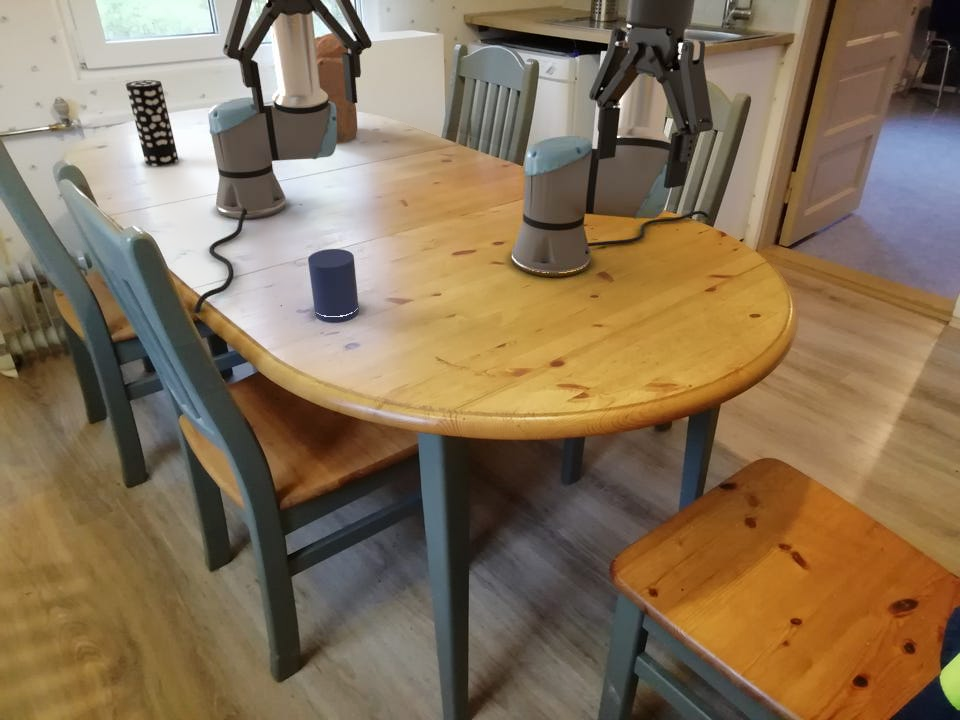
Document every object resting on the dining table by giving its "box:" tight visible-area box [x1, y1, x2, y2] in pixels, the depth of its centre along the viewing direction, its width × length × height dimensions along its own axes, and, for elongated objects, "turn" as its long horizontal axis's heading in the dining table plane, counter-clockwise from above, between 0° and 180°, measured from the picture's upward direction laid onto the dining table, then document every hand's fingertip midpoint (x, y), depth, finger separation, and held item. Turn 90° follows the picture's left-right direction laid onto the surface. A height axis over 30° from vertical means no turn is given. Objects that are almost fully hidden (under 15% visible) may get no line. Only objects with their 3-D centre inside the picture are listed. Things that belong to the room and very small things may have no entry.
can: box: [307, 248, 360, 324], centre depth 114 cm, size 7×7×10 cm
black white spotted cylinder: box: [125, 79, 179, 167], centre depth 181 cm, size 8×8×20 cm
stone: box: [315, 32, 358, 144], centre depth 203 cm, size 22×11×28 cm, turn 18°
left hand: (307, 106), depth 99 cm, fingers open, 13 cm apart
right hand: (637, 171), depth 90 cm, fingers open, 13 cm apart
